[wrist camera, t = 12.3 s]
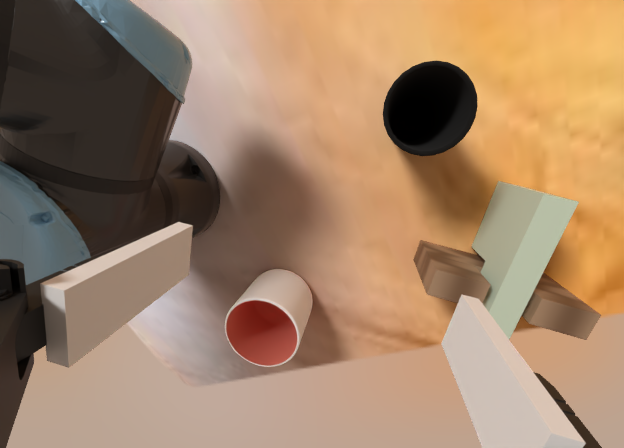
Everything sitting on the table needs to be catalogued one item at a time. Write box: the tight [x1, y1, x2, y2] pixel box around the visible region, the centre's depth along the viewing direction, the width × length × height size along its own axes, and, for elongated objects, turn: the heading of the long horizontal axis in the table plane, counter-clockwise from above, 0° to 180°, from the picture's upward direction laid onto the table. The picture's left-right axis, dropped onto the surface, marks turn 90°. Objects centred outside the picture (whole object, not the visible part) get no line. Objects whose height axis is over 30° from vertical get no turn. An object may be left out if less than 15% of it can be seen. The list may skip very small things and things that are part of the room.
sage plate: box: [472, 181, 579, 339], centre depth 34 cm, size 16×3×10 cm, turn 167°
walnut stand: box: [414, 240, 601, 340], centre depth 35 cm, size 16×3×10 cm, turn 77°
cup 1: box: [225, 269, 313, 367], centre depth 42 cm, size 10×10×10 cm
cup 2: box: [383, 61, 477, 156], centre depth 31 cm, size 8×8×12 cm
